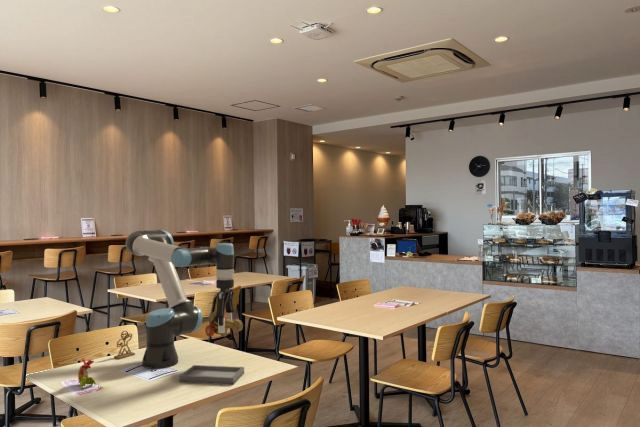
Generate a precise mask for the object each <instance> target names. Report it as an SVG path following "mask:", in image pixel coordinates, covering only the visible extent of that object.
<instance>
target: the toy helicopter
mask: <svg viewBox="0 0 640 427" xmlns="http://www.w3.org/2000/svg"><path fill="white" fill-rule="evenodd" d="M216 312H217V310H215V311H212V312H211V313H209V316H208V324H209V325H206V327H205V329H204V330H205V331H204V332H205V335H206V336H207V337H213V336H214V335H215V334H216V335H220V336H221V337H222V338H223V337H227V336H228V330H229V329H232V330H234V332H241V331H242V330H243V329H244V324H243V322H242V320H240V319H235V320H233V319H232V320H228V319H227V318H226V316H227V315H226V313H227V312H226V311H225V313H224V318H225V333H218V318H216Z"/></svg>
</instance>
